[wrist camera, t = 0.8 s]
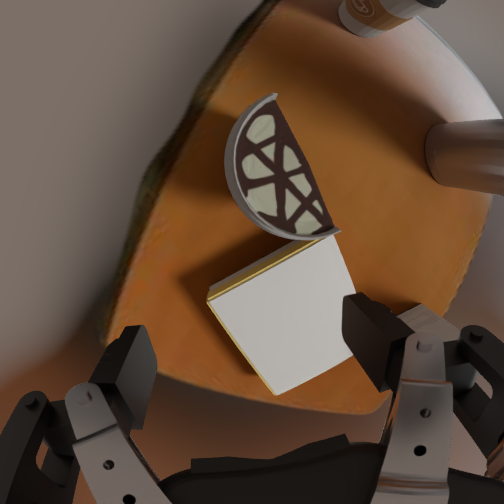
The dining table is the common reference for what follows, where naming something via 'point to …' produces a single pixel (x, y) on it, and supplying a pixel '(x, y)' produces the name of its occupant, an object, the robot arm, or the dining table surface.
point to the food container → (274, 176)
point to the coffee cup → (380, 14)
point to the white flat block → (287, 311)
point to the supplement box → (429, 323)
